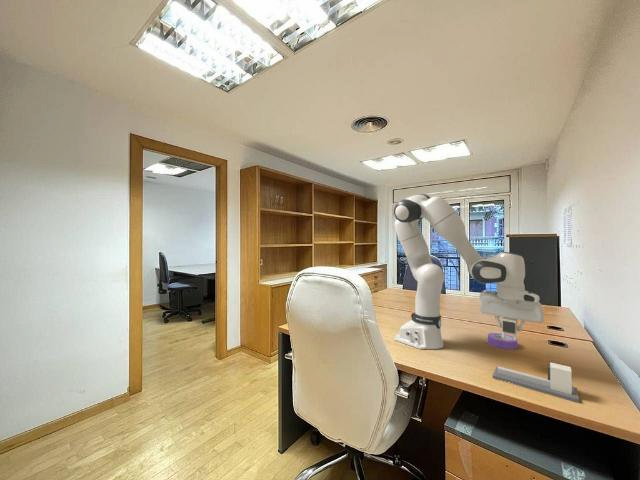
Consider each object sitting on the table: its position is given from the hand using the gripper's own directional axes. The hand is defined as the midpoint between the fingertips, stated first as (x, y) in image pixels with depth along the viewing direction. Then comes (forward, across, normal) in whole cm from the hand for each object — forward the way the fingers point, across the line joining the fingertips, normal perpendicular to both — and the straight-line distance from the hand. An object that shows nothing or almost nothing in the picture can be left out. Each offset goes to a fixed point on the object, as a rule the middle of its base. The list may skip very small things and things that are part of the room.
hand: (509, 329), depth 102 cm
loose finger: (+3, 0, 0) cm, 3 cm away
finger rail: (+15, +8, -10) cm, 19 cm away
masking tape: (+15, -5, +26) cm, 31 cm away
